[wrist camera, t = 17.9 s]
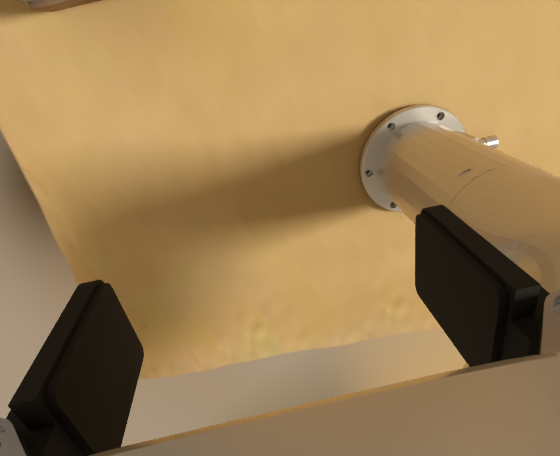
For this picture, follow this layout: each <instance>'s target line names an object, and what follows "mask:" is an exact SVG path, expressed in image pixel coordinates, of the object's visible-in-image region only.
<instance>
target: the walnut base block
mask: <svg viewBox="0 0 560 456" xmlns="http://www.w3.org/2000/svg"><path fill="white" fill-rule="evenodd" d="M97 1H101V0H44V1H40V2H29V1H28V2H29V5H30V7H31V9H34V10H44V11H57V10H61V9H66V8H70V7H75V6H79V5H84V4H88V3H92V2H97Z"/></svg>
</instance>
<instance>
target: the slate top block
mask: <svg viewBox="0 0 560 456" xmlns="http://www.w3.org/2000/svg"><path fill="white" fill-rule="evenodd" d="M22 1H29V2H40V1H44V0H22Z"/></svg>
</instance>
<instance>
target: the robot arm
mask: <svg viewBox="0 0 560 456" xmlns="http://www.w3.org/2000/svg"><path fill="white" fill-rule="evenodd" d="M438 113H439V114H438ZM437 115H438V116H437ZM389 123H390V126H389V127H387V126H388V124H389ZM497 146H498V138H497V137H496V136H495V135H494V136H488V137H484V138H482V139H478V138H476V137H473V136H471V135H469V134H467V133H466V130H465V128H464V126H463V124H462V123H461V121H460V120H459V119H458V118H457V117H456V116H455V115H454V114H452V113H451V112H449V111H448V110H446V109H443V108H441V107H438V106H434V105H429V104H418V105H413V106H408V107H405V108H403V109H400V110H398V111H396V112H394V113H393V114H391V115H390V116H388V117H387V118H385V119H384V120H383V121H382V122H381V123H380V124H379V125H378V126H377V127H376V128H375V130H374V131H373V132H372V133H371V135H370V136H369V138H368V140H367V142H366V143H365V146H364V149H363V151H362V154H361V160H360V177H361V181H362V184H363V186H364V189H365V191H366V192H367V193H368V195H369V196H370V197H371V198H372V199H373V200H374V201H375V202H376V203H377V204H378V205H380V206H381V207H383V208H385V209H387V210H390V211H395V212H404V213H405V215H406V216H407V217H408V218H409V219H410V220H411V221H412V222H413V223H414V224H415V286H416V290H417V293H418V295H419V297H420V298H421V299H422V301H423V302H424V304H425V305H426V306H427V308H428V309H429V311H430V312H431V313H432V315H433V316H434V318H435V319H436V320H437V322H438V323H439V325H440V326H441V327H442V329H443V330H444V332H445V333H446V334H447V336H448V337H449V338H450V340H451V341H452V343H453V344H454V346H455V347H456V348H457V350H458V351H459V352H460V354H461V355H462V357H463V358H464V359H465V361H466V362H467V363H466V364H465V365H464V367H463V368H462V369H458V370H454V371H449V372H444V373H439V374H435V375H430V376H426V377H421V378H417V379H413V380H409V381H404V382H399V383H395V384H390V385H386V386H381V387H378V388H373V389H368V390H364V391H360V392H355V393H350V394H346V395H342V396H337V397H333V398H329V399H324V400H321V401H316V402H311V403H307V404H303V405H298V406H294V407H290V408H285V409H281V410H277V411H273V412H268V413H264V414H260V415H255V416H251V417H247V418H242V419H238V420H233V421H229V422H225V423H221V424H217V425H212V426H208V427H204V428H200V429H195V430H191V431H187V432H183V433H178V434H175V435H170V436H166V437H162V438H157V439H153V440H149V441H145V442H141V443H136V444H132V445H128V446H124V447H121V444H122V440H123V436H124V432H125V428H126V424H127V420H128V416H129V413H130V408H131V404H132V401H133V397H134V393H135V389H136V385H137V381H138V377H139V374H140V370H141V366H142V362H143V357H144V352H143V347H142V345H141V343H140V341H139V339H138V337H137V335H136V333H135V331H134V329H133V327H132V325H131V323H130V321H129V319H128V317H127V315H126V314H125V312H124V310H123V308H122V306H121V304H120V302H119V300H118V298H117V296H116V294H115V292H114V290H113V288H112V287H111V285H110V284H109V283H104V282H103V281H102V280H96V281H92V282H87V283H82V284H79V285H78V286H77V288H76V290H75V292H74V293H73V295H72V297H71V299H70V300H69V302H68V304H67V305H66V307H65V309H64V310H63V312H62V314H61V316H60V317H59V319H58V321H57V322H56V324H55V326H54V328H53V329H52V331H51V333H50V334H49V336H48V338H47V340H46V341H45V343H44V345H43V346H42V348H41V350H40V352H39V353H38V355H37V357H36V358H35V360H34V362H33V364H32V365H31V367H30V369H29V371H28V372H27V374H26V376H25V377H24V379H23V381H22V383H21V384H20V386H19V388H18V389H17V391H16V393H15V395H14V396H13V398H12V400H11V401H10V403H9V405H8V406H9V408H10V409H11V411H10V412H9V414H8V416H7V418H6V419H4V418H0V456H560V177H557V176H555V175H553V174H551V173H548V172H546V171H544V170H542V169H539V168H537V167H535V166H532V165H529V164H527V163H525V162H523V161H521V160H518V159H516V158H514V157H512V156H509V155H507V154H505V153H503V152H500V151H498V150H496V149H494V148H496V147H497ZM367 170H368V172H366V171H367Z"/></svg>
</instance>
